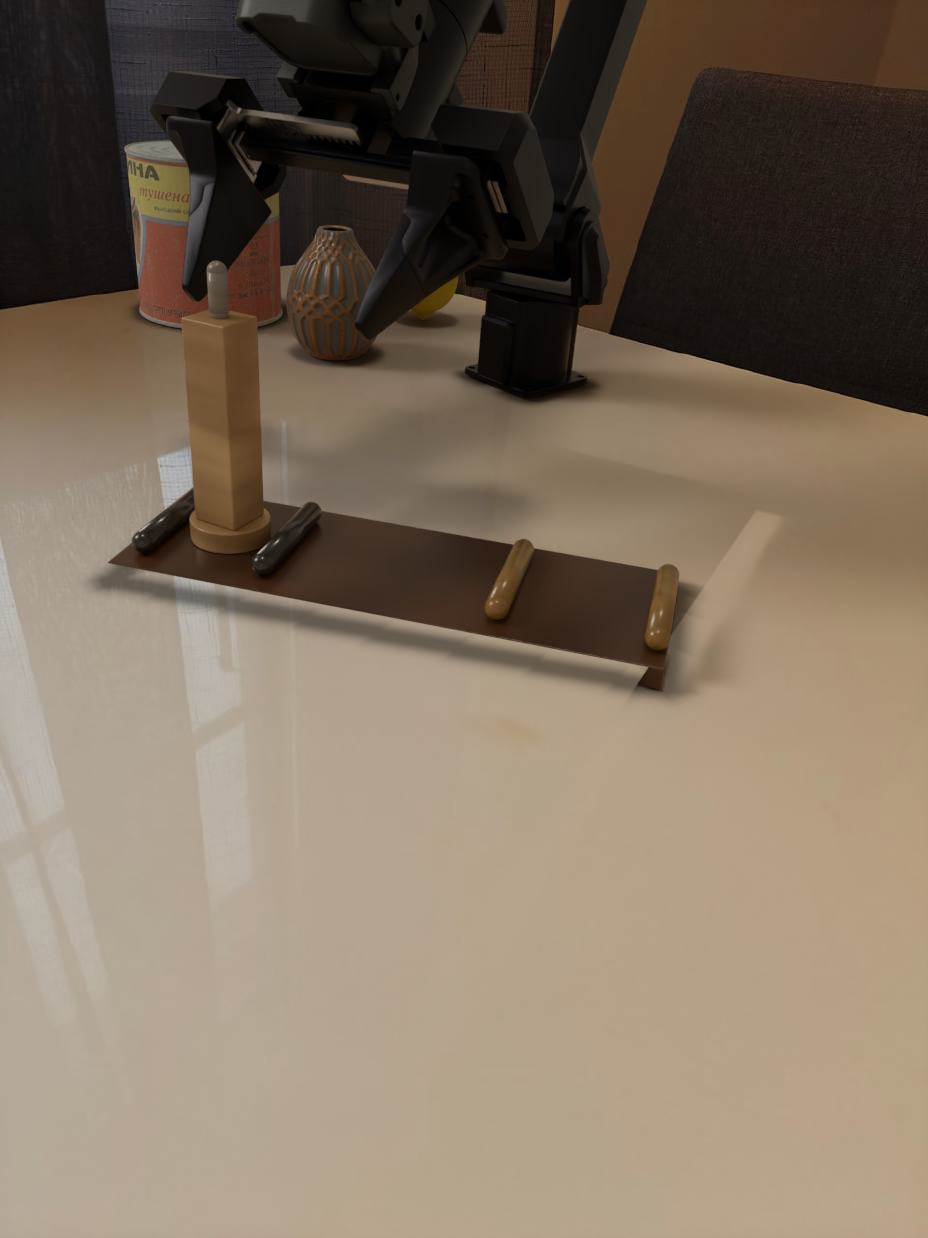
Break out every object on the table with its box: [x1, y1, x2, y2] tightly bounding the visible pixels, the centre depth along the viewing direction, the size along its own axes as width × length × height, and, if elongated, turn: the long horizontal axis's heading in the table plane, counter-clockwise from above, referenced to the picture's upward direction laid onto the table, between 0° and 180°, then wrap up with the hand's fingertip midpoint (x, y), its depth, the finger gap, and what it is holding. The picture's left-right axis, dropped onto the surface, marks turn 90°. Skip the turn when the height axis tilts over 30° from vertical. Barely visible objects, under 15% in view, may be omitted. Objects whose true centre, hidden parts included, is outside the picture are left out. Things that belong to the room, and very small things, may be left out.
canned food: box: [124, 139, 284, 329], centre depth 79 cm, size 11×11×12 cm
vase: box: [286, 224, 377, 361], centre depth 73 cm, size 7×7×9 cm
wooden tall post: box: [181, 261, 271, 554], centre depth 43 cm, size 4×4×12 cm
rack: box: [107, 486, 680, 690], centre depth 45 cm, size 24×8×2 cm, turn 76°
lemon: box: [410, 275, 460, 321], centre depth 83 cm, size 6×6×8 cm
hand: (272, 314), depth 44 cm, fingers open, 9 cm apart
